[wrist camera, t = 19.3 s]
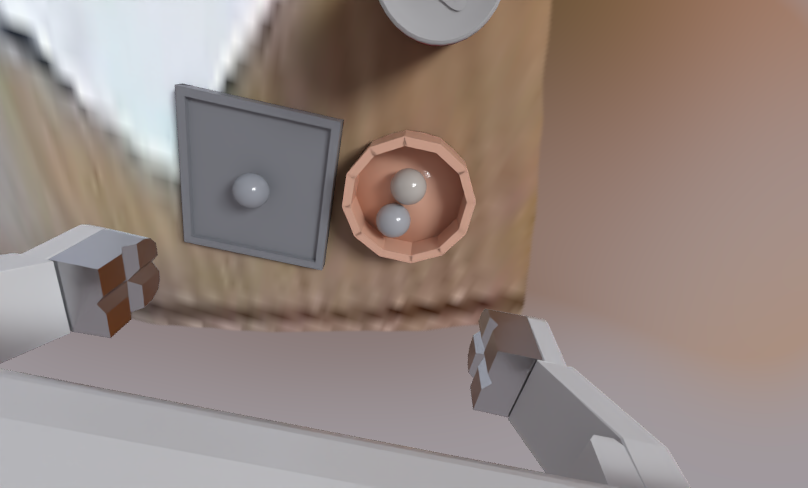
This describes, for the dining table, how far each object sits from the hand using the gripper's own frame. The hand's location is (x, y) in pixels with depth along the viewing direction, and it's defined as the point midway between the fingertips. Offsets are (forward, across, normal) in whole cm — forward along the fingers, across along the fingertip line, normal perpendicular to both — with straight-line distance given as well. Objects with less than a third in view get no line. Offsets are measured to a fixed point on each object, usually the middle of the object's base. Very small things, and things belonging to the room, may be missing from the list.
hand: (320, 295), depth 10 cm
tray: (+29, +13, +10) cm, 33 cm away
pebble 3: (+27, -1, +9) cm, 28 cm away
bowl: (+29, -2, +7) cm, 30 cm away
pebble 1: (+27, +13, +10) cm, 31 cm away
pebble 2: (+27, -2, +6) cm, 28 cm away
